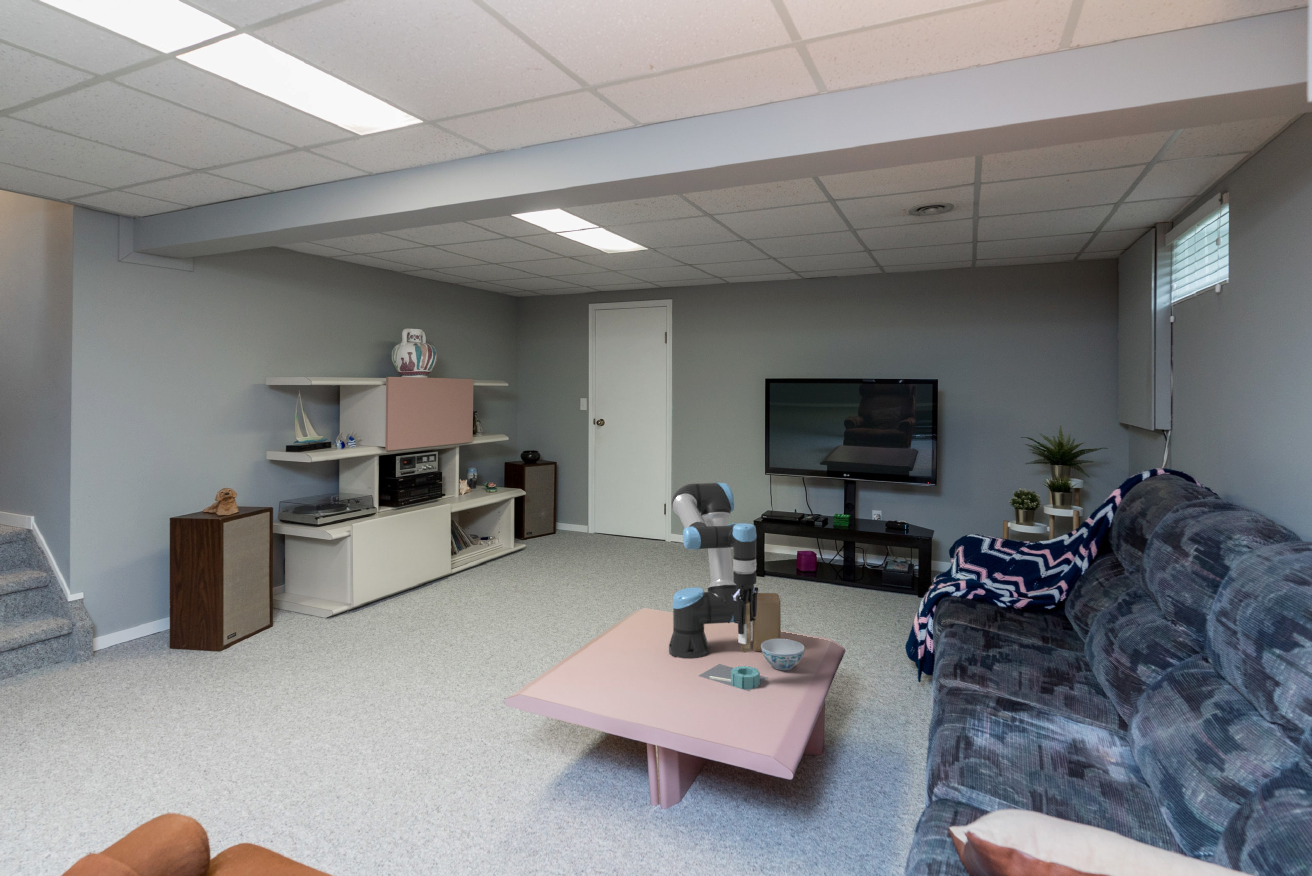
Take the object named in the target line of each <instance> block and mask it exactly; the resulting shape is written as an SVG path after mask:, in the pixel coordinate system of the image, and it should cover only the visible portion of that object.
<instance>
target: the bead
mask: <svg viewBox="0 0 1312 876" xmlns="http://www.w3.org/2000/svg"><path fill="white" fill-rule="evenodd" d="M732 668H733V669H732V670H731V683H732V685H733V686H734V688H736V687H737V688H736V689H741V690H743V688H744V689H751V690H753V689H756V688H758V687H759V686H760V684H761V683H760V674H761V672H760V671H759V668H756V667H752V666H750V665H749V666H747V665H744V666H743V665H741V666H740V665H739V666H734V667H732ZM733 686H732V687H733Z"/></svg>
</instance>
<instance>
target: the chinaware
mask: <svg viewBox="0 0 1312 876" xmlns="http://www.w3.org/2000/svg"><path fill="white" fill-rule="evenodd" d="M761 649H762V652H761V653H762V655H763V657H764V658H765V660H766V661H767V663H769V664H770V665H771V666H772V668H774V669H775V670H779V671H790V670H792V669H793V668H794V667H795V666H797V665H798V663H799V662H800V661H801V660H802V658H803V656H804V652H805V645H804V644H803V643H802V642H799V641H796V640H794V639H789V638H781V639H770V640H767V641H764V642H763V643H762V644H761Z"/></svg>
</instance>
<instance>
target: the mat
mask: <svg viewBox="0 0 1312 876" xmlns="http://www.w3.org/2000/svg"><path fill="white" fill-rule="evenodd" d="M733 668H734V667H732V666H728V665H726V664H721V663H718V664H717V665H715V666H713V667H712V668H710V669H708V670H706V671H704V672H702V673H701V674H699V675H698V677H701V678H704V679H707V680H711V681H714V682H717V683H720V684H724V685H727V686H730V687H734V686H733V685H732V683H731V682H729V681H723V680H717V679H711V678H709V677H710V676H713V677H719V678H725V679H731V670H732V669H733ZM768 679H769V677H766V676H764V675H760V684H762V683H764V682H765V681H766V680H768ZM734 688H736V689H738V688H737V687H734ZM742 690H743V691H745V692H746V691H747V692H749V691H752V689H744V688H743V689H742Z"/></svg>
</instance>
